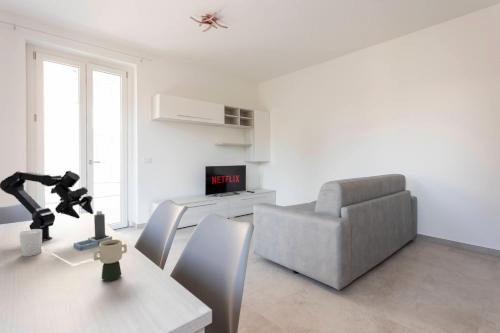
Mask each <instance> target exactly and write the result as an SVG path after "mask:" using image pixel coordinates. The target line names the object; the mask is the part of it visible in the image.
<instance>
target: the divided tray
mask: <svg viewBox="0 0 500 333" xmlns="http://www.w3.org/2000/svg"><path fill="white" fill-rule="evenodd" d="M107 240H113V236H111V235H109V234H106V233H105V238H103V239H99V240H95V235H94V236H91V237H88V238H87V239H84V240H81V241H78V242H73V248H75V249H77V250H80V251H83V250H87V249H91V248H94V247H99V244H100V243H101V242H104V241H107Z"/></svg>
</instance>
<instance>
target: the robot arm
mask: <svg viewBox="0 0 500 333" xmlns="http://www.w3.org/2000/svg"><path fill="white" fill-rule="evenodd" d="M80 178H81V177H80V175H79V174H77V173H76V172H72V170H66V172H65V173H64V174H63V176H62V175H61V174H59V173H58V174H56V173H54V174H43V173H37V172H31V171H27V170H18V171H15V172H14V173H12V175H9V176H7V177H6V178H4V179H3V180H1V181H0V189H1V191H3V192H4V193H6V194H8V195H11V196H13V197H14V198H15V199H17V201H18V202H19V203H21V205H22V206H23V207H24V208H25V209H26V210H27V211H28V212H29V213H30V214H31V220H32V222H31V223H30V224H29V230H32V229H41V230H42V242H43V241H47V240H52V239H53V237H52V236H50V227H52V226H54V222H55V220H56V216H55V214H54V212H53V211H52V210H51V209H50V208H49V207H46V208H43V207H42V206H41V205H40V204H39V203H37V202H36V200H35V199H33V197H32V196H31V195H30V194H29V193H28V192H27V191H26V190H25V185H24V184H25V183H26V181H29V182H35V183H36V182H37V183H40V184H41V185H43V186H45V187H52V188H50V189H51V190H50V194H51V195H52V194H56V195H57V196H59V198H60V199H59V201H60V202H59V203H57V206H56V207H55V209H54V210H55V212H56V214H61V215H62V214H63V215H66V216H69V217H72V218H75V219H80V218H81V217H80V215H79V213H77V211H76V210H75V209H74V207H75V206H79V207H81V209H82V210H84V211H85V212H86V213H88V214H91V215H93V214H94V210H93V208H92V205H91V203H92V202H93V199H94V198H93V196H91V195H86V194H88V193H89V192H88V189H87V188H86V186H84V187H83V186H82V187H81V188H77V189H75V190H72V189H71V188H73V187H74V186H75V185H76V183H77V182H78V181H79V180H80ZM84 195H86V196H84Z"/></svg>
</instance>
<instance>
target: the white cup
mask: <svg viewBox="0 0 500 333" xmlns="http://www.w3.org/2000/svg"><path fill="white" fill-rule="evenodd" d="M18 235H19V236H18V237H19V244H20V250H21V256H22V257H31V256H36V255H39V254H40V253H42V246H43V245H42V244H43V241H42V230H41V229H32V230H31V229H28V230H23V231H21V232H19V233H18Z"/></svg>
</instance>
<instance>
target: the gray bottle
mask: <svg viewBox="0 0 500 333" xmlns="http://www.w3.org/2000/svg"><path fill="white" fill-rule="evenodd" d="M93 219H94V220H93V221H94V222H93V223H94V236H95V240H99V239H103V238H105V234H106V220H105V219H106V218H105V213H103V210H102V209H101V210H96V214H94V215H93Z"/></svg>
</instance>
